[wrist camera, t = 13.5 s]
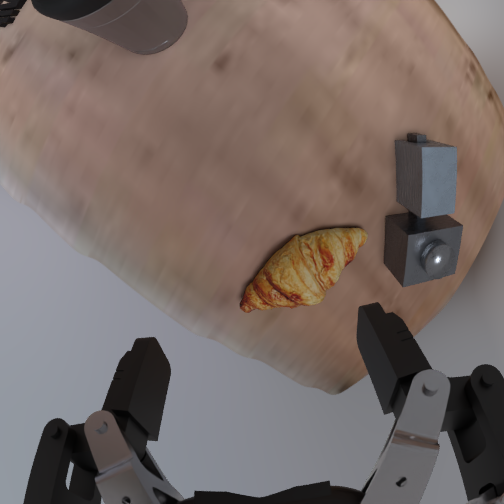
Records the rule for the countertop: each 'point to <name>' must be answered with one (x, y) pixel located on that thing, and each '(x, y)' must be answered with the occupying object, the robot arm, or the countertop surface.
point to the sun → (10, 11)
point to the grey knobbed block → (421, 243)
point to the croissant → (303, 269)
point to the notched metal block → (426, 177)
